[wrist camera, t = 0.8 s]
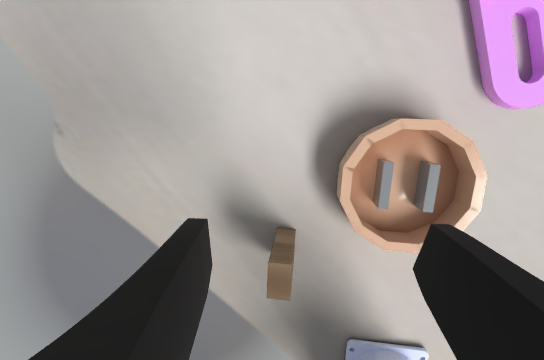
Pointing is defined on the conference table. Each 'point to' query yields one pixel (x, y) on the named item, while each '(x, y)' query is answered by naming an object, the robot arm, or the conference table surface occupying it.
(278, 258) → the long tan beam
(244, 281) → the conference table surface
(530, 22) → the bracket
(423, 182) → the round tan tray
